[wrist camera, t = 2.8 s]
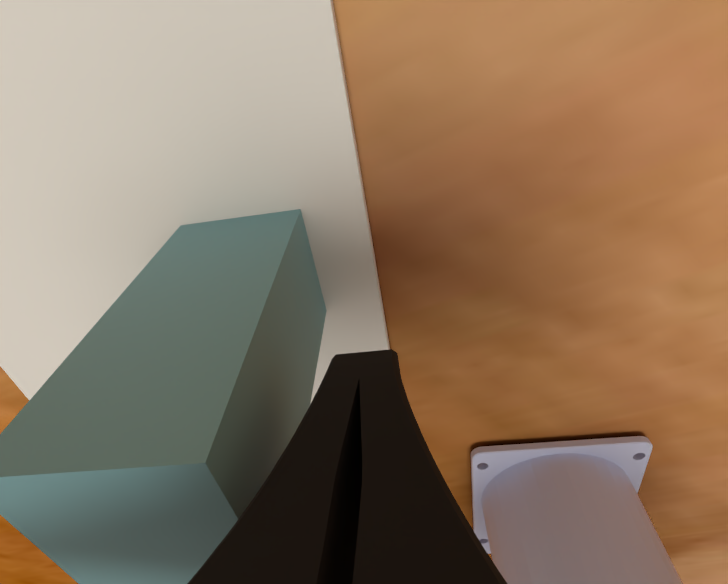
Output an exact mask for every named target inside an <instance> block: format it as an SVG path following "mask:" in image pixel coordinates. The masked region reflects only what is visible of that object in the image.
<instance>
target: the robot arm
mask: <svg viewBox="0 0 728 584" xmlns="http://www.w3.org/2000/svg"><path fill="white" fill-rule="evenodd" d="M652 448H653V445H652V444H651V442H650V440H649V439H648V438H647V437H645V436H629V437H615V438H600V439H585V440H570V441H556V442H541V443H526V444H511V445H497V446H482V447H477V448H475V449H473V450H472V451H471V480H472V507H473V529H472V528H471V526H470V524H469V523H468V521H467V519H466V518H465V516H464V514H463V513H462V511H461V509H460V507H459V506H458V504H457V502H456V500H455V499H454V497H453V495H452V493H451V491H450V490H449V488H448V486H447V484H446V482H445V480H444V478H443V477H442V475H441V473H440V471H439V469H438V467H437V465H436V463H435V461H434V459H433V457H432V455H431V453H430V451H429V449H428V446H427V444H426V442H425V440H424V438H423V436H422V433H421V431H420V429H419V426H418V424H417V421H416V419H415V417H414V414H413V412H412V409H411V407H410V404H409V401H408V399H407V396H406V393H405V390H404V386H403V383H402V380H401V375H400V369H399V362H398V355H397V353H396V352H395V351H393V350H392V349H389V350H378V351H368V352H357V353H346V354H336V355H335V356H334V357H333V358H332V360H331V362H330V364H329V367H328V369H327V371H326V373H325V376H324V378H323V380H322V382H321V384H320V386H319V388H318V390H317V392H316V394H315V396H314V398H313V400H312V402H311V404H310V406H309V408H308V410H307V412H306V413H305V415H304V417H303V419H302V421H301V423H300V424H299V426H298V428H297V430H296V432H295V433H294V435H293V437H292V439H291V440H290V442H289V444H288V445H287V447H286V449H285V450H284V452H283V453H282V455H281V457H280V458H279V460H278V461H277V463H276V465H275V466H274V468H273V469H272V471H271V473H270V474H269V476H268V477H267V479H266V480H265V482H264V483H263V485H262V486H261V488H260V489H259V491H258V492H257V494H256V495H255V497H254V498H253V500H252V501H251V502H250V504H249V505H248V507H247V508H246V509H245V511H244V512H243V513H242V515H241V516H240V518H239V519H238V520H237V522H236V523H235V524H234V526H233V527H232V528H231V530H230V531H229V532H228V534H227V535H226V536H225V537H224V539H223V540H222V541H221V543H220V544H219V545H218V546H217V548H216V549H215V550H214V551H213V553H212V554H211V555H210V557H209V558H208V559H207V560H206V562H205V563H204V564H203V565H202V567H201V568H200V569H199V570H198V571H197V573H196V574H195V575H194V576H193V577H192V579H191V580H190V581H189V582H188V583H187V584H683V583H682V581H681V579H680V577H679V575H678V573H677V571H676V569H675V567H674V566H673V564H672V562H671V560H670V558H669V556H668V554H667V552H666V550H665V548H664V546H663V544H662V542H661V540H660V538H659V536H658V534H657V532H656V530H655V528H654V526H653V524H652V522H651V520H650V518H649V516H648V514H647V512H646V510H645V508H644V506H643V504H642V502H641V500H640V498H639V497H638V495H637V494H638V491H639V487H640V484H641V481H642V478H643V475H644V472H645V469H646V466H647V463H648V460H649V457H650V454H651V451H652ZM488 554H491V556H492V560H491V558H490V557H489V555H488Z"/></svg>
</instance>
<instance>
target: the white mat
mask: <svg viewBox="0 0 728 584" xmlns="http://www.w3.org/2000/svg"><path fill="white" fill-rule="evenodd" d="M297 209H301V212H302V216H303V220H304V224H305V228H306V232H307V236H308V240H309V244H310V248H311V251H312V255H313V259H314V263H315V267H316V271H317V275H318V279H319V283H320V287H321V291H322V295H323V299H324V302H325V306H326V310H327V311H326V317H325V323H324V328H323V334H322V340H321V345H320V351H319V357H318V363H317V368H316V374H315V380H314V386H313V391H312V397H311V402H312V400H313V398H314V396H315V394H316V392H317V390H318V388H319V386H320V384H321V382H322V380H323V378H324V376H325V373H326V371H327V369H328V367H329V364H330V362H331V360H332V358H333V357H334V356H335V355H336V354H346V353H357V352H368V351H378V350H389V349H390V345H389V339H388V333H387V327H386V321H385V315H384V309H383V303H382V297H381V291H380V285H379V279H378V273H377V267H376V261H375V254H374V248H373V242H372V236H371V230H370V224H369V218H368V212H367V206H366V200H365V194H364V188H363V182H362V176H361V170H360V163H359V157H358V151H357V145H356V139H355V133H354V127H353V121H352V115H351V109H350V103H349V97H348V91H347V85H346V79H345V72H344V66H343V60H342V54H341V48H340V42H339V36H338V30H337V24H336V18H335V12H334V6H333V0H0V366H1V367H2V369H3V370H4V371H5V372H6V373H7V375H8V376H9V377H10V378H11V379H12V380H13V382H14V383H15V384H16V385H17V386H18V388H19V389H20V390H21V391H22V392H23V394H24V395H25V396H26V397H27V398H28V399H29V400H30V399H31V398H32V397H33V396H34V395H35V394H36V392H37V391H38V390H39V389H40V388H41V387H42V385H43V384H44V383H45V382H46V381H47V380H48V378H49V377H50V376H51V375H52V374H53V373H54V372H55V370H56V369H57V368H58V367H59V366H60V365H61V363H62V362H63V361H64V360H65V359H66V358H67V356H68V355H69V354H70V353H71V352H72V351H73V350H74V348H75V347H76V346H77V345H78V344H79V343H80V341H81V340H82V339H83V338H84V337H85V336H86V334H87V333H88V332H89V331H90V330H91V329H92V327H93V326H94V325H95V324H96V323H97V322H98V321H99V319H100V318H101V317H102V316H103V315H104V314H105V312H106V311H107V310H108V309H109V308H110V307H111V305H112V304H113V303H114V302H115V301H116V300H117V299H118V297H119V296H120V295H121V294H122V293H123V292H124V290H125V289H126V288H127V287H128V286H129V285H130V283H131V282H132V281H133V280H134V279H135V278H136V276H137V275H138V274H139V273H140V272H141V271H142V270H143V268H144V267H145V266H146V265H147V264H148V263H149V261H150V260H151V259H152V258H153V257H154V256H155V254H156V253H157V252H158V251H159V250H160V249H161V248H162V246H163V245H164V244H165V243H166V242H167V241H168V239H169V238H170V237H171V236H172V235H173V234H174V232H175V231H176V230H177V229H178V228H179V227H180V226H181V225H186V224H194V223H201V222H208V221H216V220H223V219H231V218H238V217H245V216H253V215H260V214H267V213H275V212H282V211H290V210H297ZM310 404H311V403H310Z"/></svg>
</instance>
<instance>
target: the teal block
mask: <svg viewBox="0 0 728 584" xmlns="http://www.w3.org/2000/svg"><path fill="white" fill-rule="evenodd" d="M326 311H327V310H326V306H325V302H324V299H323V295H322V291H321V287H320V283H319V279H318V275H317V271H316V267H315V263H314V259H313V255H312V251H311V248H310V244H309V240H308V236H307V232H306V228H305V224H304V220H303V216H302V212H301V209H297V210H290V211H282V212H275V213H267V214H260V215H253V216H245V217H238V218H231V219H223V220H216V221H208V222H201V223H194V224H186V225H181V226H180V227H179V228H178V229H177V230H176V231H175V232H174V234H173V235H172V236H171V237H170V238H169V239H168V241H167V242H166V243H165V244H164V245H163V246H162V248H161V249H160V250H159V251H158V252H157V253H156V254H155V256H154V257H153V258H152V259H151V260H150V261H149V263H148V264H147V265H146V266H145V267H144V268H143V270H142V271H141V272H140V273H139V274H138V275H137V276H136V278H135V279H134V280H133V281H132V282H131V283H130V285H129V286H128V287H127V288H126V289H125V290H124V292H123V293H122V294H121V295H120V296H119V297H118V299H117V300H116V301H115V302H114V303H113V304H112V305H111V307H110V308H109V309H108V310H107V311H106V312H105V314H104V315H103V316H102V317H101V318H100V319H99V321H98V322H97V323H96V324H95V325H94V326H93V327H92V329H91V330H90V331H89V332H88V333H87V334H86V336H85V337H84V338H83V339H82V340H81V341H80V343H79V344H78V345H77V346H76V347H75V348H74V350H73V351H72V352H71V353H70V354H69V355H68V356H67V358H66V359H65V360H64V361H63V362H62V363H61V365H60V366H59V367H58V368H57V369H56V370H55V372H54V373H53V374H52V375H51V376H50V377H49V378H48V380H47V381H46V382H45V383H44V384H43V385H42V387H41V388H40V389H39V390H38V391H37V392H36V394H35V395H34V396H33V397H32V398H31V399H30V400H29V402H28V403H27V404H26V405H25V406H24V407H23V409H22V410H21V411H20V412H19V413H18V414H17V416H16V417H15V418H14V419H13V420H12V421H11V423H10V424H9V425H8V426H7V427H6V428H5V429H4V431H3V432H2V433H1V434H0V515H2V516H3V517H4V518H5V519H6V520H7V521H8V522H9V523H11V524H12V525H13V526H14V527H15V528H16V529H17V530H19V531H20V532H21V533H22V534H23V535H24V536H25V537H26V538H28V539H29V540H30V541H31V542H32V543H33V544H34V545H36V546H37V547H38V548H39V549H40V550H41V551H42V552H43V553H45V554H46V555H47V556H48V557H49V558H50V559H51V560H53V561H54V562H55V563H56V564H57V565H58V566H59V567H60V568H62V569H63V570H64V571H65V572H66V573H67V574H68V575H70V576H71V577H72V578H73V579H74V580H75V581H76V582H77V583H79V584H187V583H188V582H189V581H190V580H191V579H192V577H193V576H194V575H195V574H196V573H197V571H198V570H199V569H200V568H201V567H202V565H203V564H204V563H205V562H206V560H207V559H208V558H209V557H210V555H211V554H212V553H213V551H214V550H215V549H216V548H217V546H218V545H219V544H220V543H221V541H222V540H223V539H224V537H225V536H226V535H227V534H228V532H229V531H230V530H231V528H232V527H233V526H234V524H235V523H236V522H237V520H238V519H239V518H240V516H241V515H242V513H243V512H244V511H245V509H246V508H247V507H248V505H249V504H250V502H251V501H252V500H253V498H254V497H255V495H256V494H257V492H258V491H259V489H260V488H261V486H262V485H263V483H264V482H265V480H266V479H267V477H268V476H269V474H270V473H271V471H272V469H273V468H274V466H275V465H276V463H277V461H278V460H279V458H280V457H281V455H282V453H283V452H284V450H285V449H286V447H287V445H288V444H289V442H290V440H291V439H292V437H293V435H294V433H295V432H296V430H297V428H298V426H299V424H300V423H301V421H302V419H303V417H304V415H305V413H306V412H307V410H308V408H309V406H310V403H311V397H312V391H313V386H314V380H315V374H316V368H317V363H318V357H319V351H320V345H321V340H322V334H323V328H324V323H325V317H326Z"/></svg>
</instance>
